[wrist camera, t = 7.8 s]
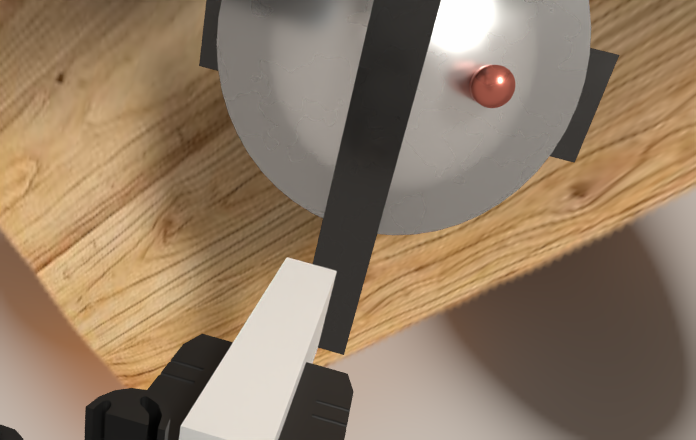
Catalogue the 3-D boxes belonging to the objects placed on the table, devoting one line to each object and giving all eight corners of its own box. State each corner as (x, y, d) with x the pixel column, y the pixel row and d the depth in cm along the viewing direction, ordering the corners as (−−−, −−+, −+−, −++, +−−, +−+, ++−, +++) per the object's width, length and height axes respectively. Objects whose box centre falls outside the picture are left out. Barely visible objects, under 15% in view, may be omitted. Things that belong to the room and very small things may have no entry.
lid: (191, 281, 32) (167, 304, 29) (255, -189, 23) (231, -226, 20) (471, 360, 31) (476, 393, 28) (648, -100, 22) (684, -126, 19)
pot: (245, 133, 41) (179, 165, 30) (290, -159, 34) (224, -263, 22) (507, 202, 40) (540, 262, 29) (614, -85, 32) (717, -156, 21)
